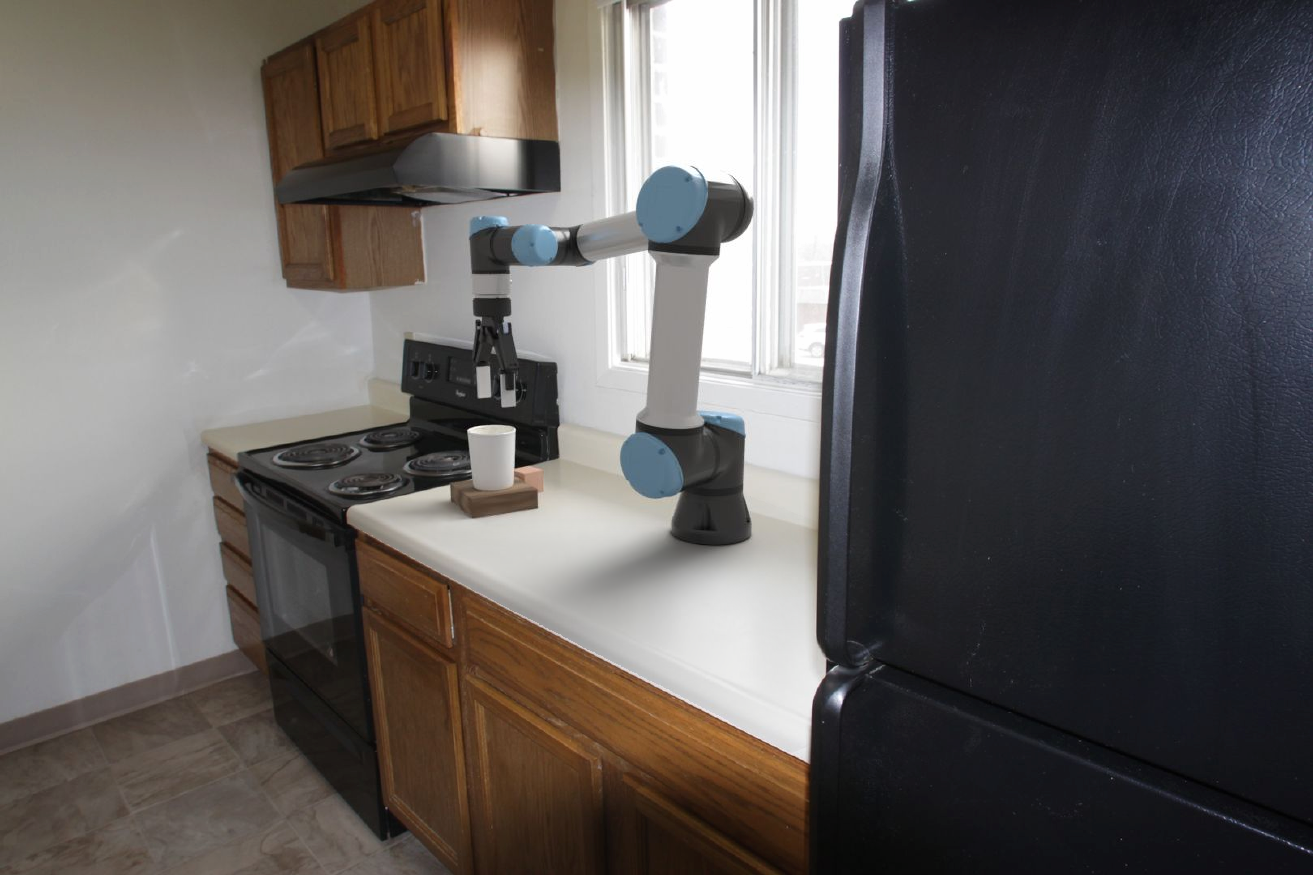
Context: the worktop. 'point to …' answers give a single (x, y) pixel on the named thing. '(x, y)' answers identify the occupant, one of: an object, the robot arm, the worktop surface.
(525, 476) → the terracotta cube
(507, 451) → the white cup
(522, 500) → the walnut slab
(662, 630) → the worktop surface
